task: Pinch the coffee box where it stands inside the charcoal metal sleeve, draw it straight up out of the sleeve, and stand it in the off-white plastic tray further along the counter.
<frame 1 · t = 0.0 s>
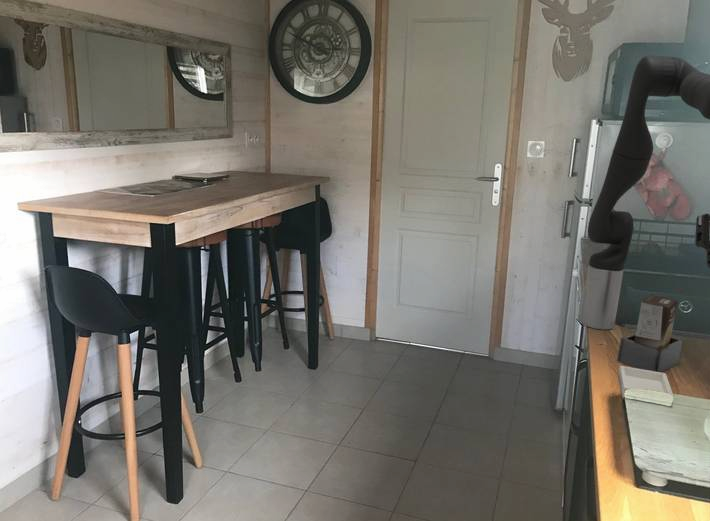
coffee box: (648, 362, 150), resting in sleeve
tray: (643, 390, 134), on the kitchen counter
sleeve: (648, 362, 150), on the kitchen counter
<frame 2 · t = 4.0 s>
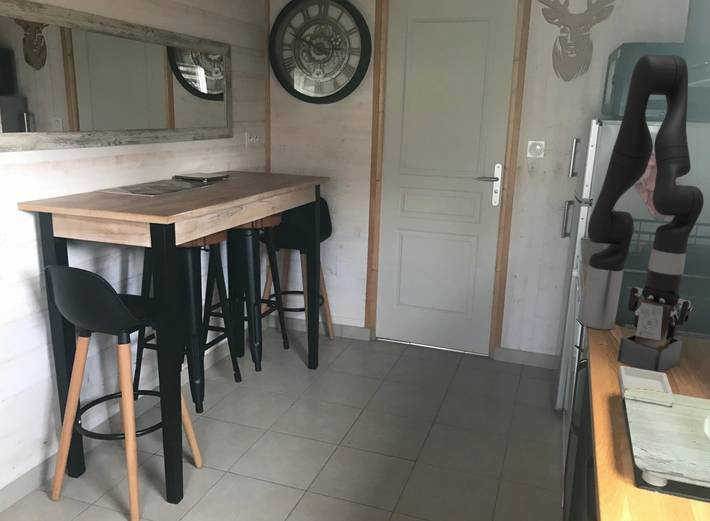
hand: (653, 334, 148), 7 cm above the kitchen counter, tool pointing down, fingers closed on coffee box, 7 cm apart
coffee box: (648, 362, 150), resting in sleeve, touching gripper
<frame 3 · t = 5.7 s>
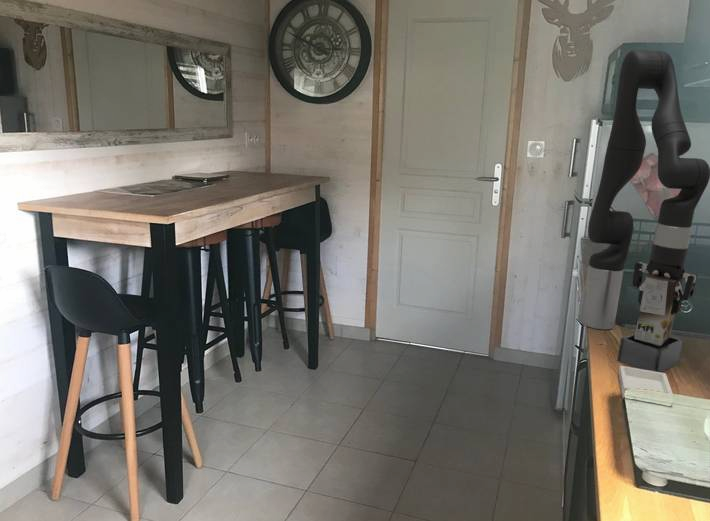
hand: (657, 309, 147), 14 cm above the kitchen counter, tool pointing down, fingers closed on coffee box, 7 cm apart
coffee box: (652, 338, 149), point 6 cm above the kitchen counter, touching gripper
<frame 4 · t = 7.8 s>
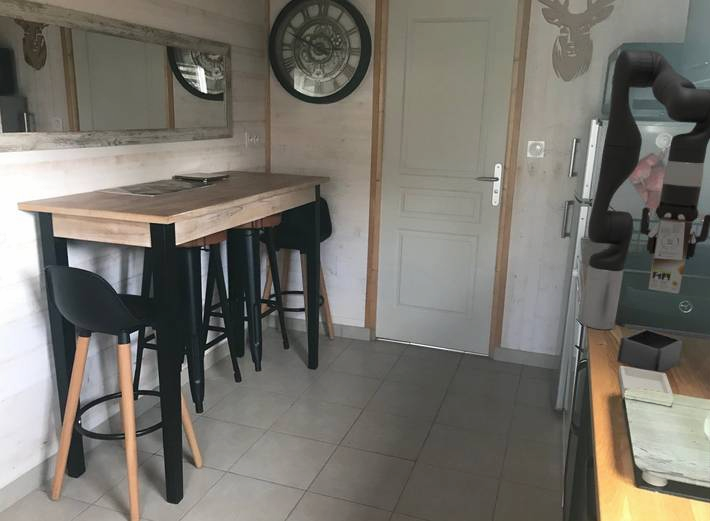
hand: (669, 256, 137), 28 cm above the kitchen counter, tool pointing down, fingers closed on coffee box, 7 cm apart
coffee box: (663, 288, 139), point 21 cm above the kitchen counter, touching gripper
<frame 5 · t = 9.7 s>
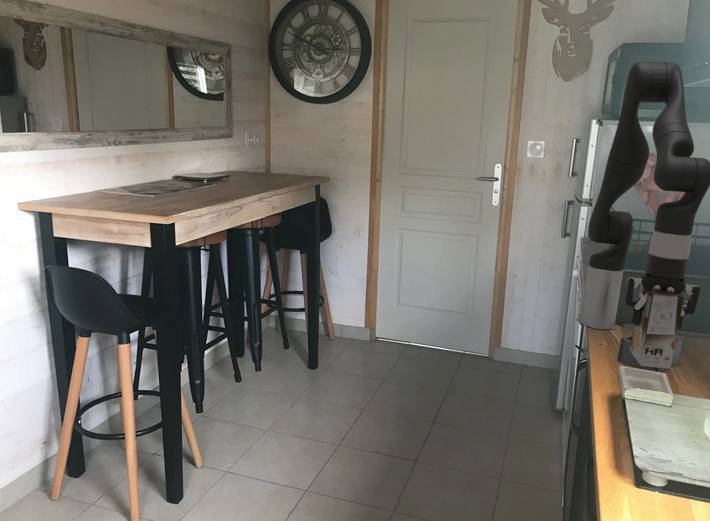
hand: (654, 327, 131), 15 cm above the kitchen counter, tool pointing down, fingers closed on coffee box, 7 cm apart
coffee box: (648, 360, 132), point 7 cm above the kitchen counter, touching gripper
when the fingers open (9 cm above the kitchen counter, at t = 11.4 s): coffee box drops 1 cm, resting on tray.
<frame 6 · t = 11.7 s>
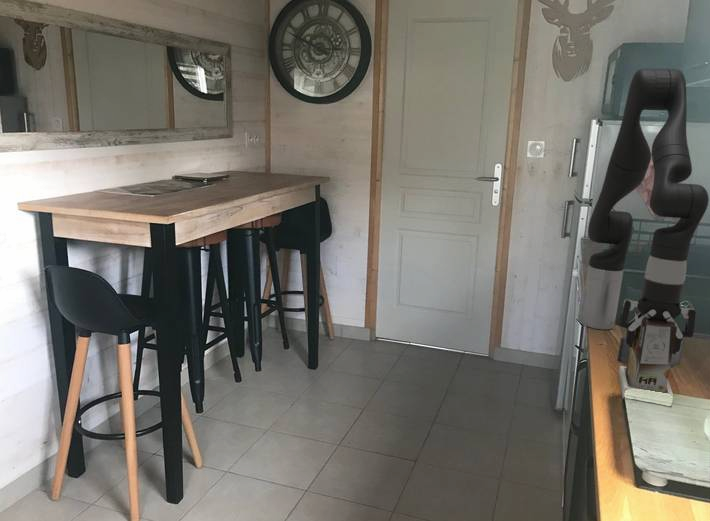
hand: (651, 349, 132), 10 cm above the kitchen counter, tool pointing down, fingers open, 8 cm apart
coffee box: (643, 388, 134), resting on tray
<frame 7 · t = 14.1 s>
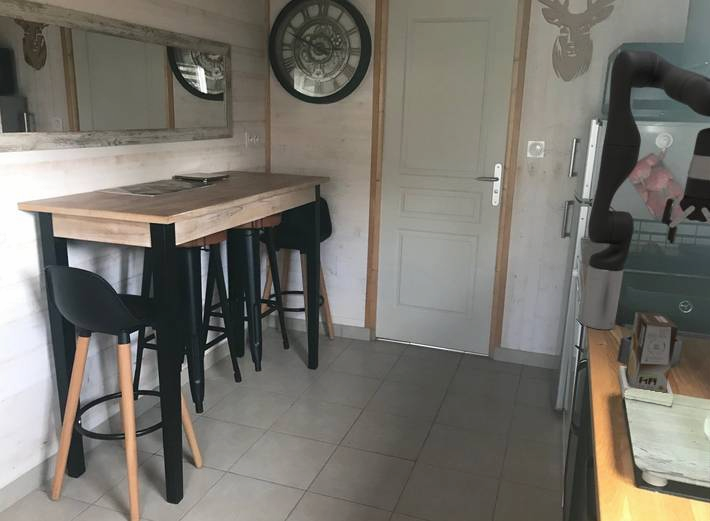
hand: (691, 246, 140), 30 cm above the kitchen counter, tool pointing down, fingers open, 8 cm apart
nothing on the kitchen counter moved.
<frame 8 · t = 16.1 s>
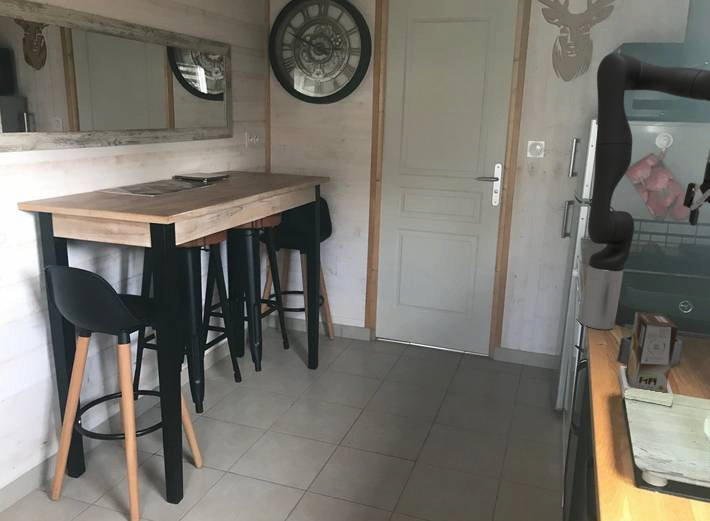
nothing on the kitchen counter moved.
at the end: coffee box 0.1 cm off-centre on the tray, point 0.4 cm above the tray's base; coffee box tilted 0°; the gripper is holding nothing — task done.
